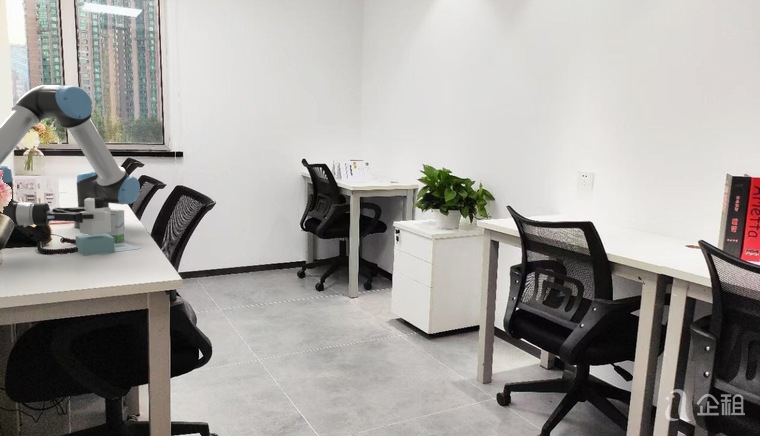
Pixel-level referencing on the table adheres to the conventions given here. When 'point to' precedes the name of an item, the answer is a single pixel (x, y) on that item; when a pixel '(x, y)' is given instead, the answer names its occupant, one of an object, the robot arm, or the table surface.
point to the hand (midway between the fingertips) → (107, 213)
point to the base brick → (95, 244)
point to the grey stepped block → (95, 225)
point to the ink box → (117, 225)
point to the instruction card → (124, 247)
